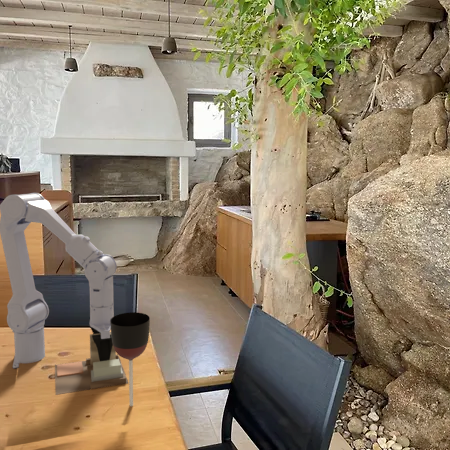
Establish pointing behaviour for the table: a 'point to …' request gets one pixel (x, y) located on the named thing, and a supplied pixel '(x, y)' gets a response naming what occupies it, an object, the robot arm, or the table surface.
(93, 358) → the tan wooden block
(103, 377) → the offcut lower
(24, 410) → the table surface
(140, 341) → the wineglass
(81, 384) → the walnut rack
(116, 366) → the offcut upper
